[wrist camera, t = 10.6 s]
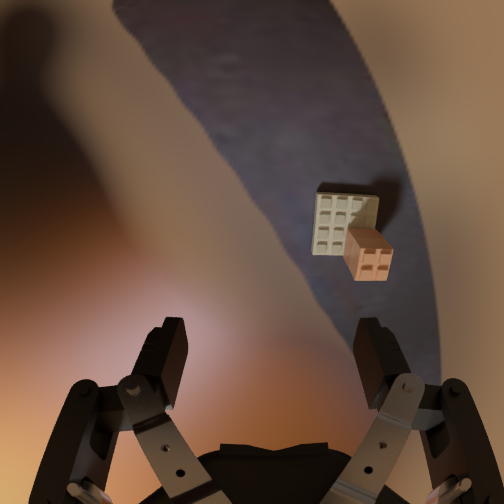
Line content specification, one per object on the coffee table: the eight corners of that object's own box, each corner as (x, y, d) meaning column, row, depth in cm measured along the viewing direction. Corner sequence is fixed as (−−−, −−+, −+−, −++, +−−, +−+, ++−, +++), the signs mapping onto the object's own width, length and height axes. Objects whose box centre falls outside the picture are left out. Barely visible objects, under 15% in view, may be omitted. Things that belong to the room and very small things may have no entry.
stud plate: (316, 191, 36) (318, 195, 35) (376, 195, 36) (380, 198, 35) (311, 250, 40) (313, 256, 38) (367, 251, 40) (371, 257, 38)
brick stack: (347, 227, 36) (362, 250, 31) (376, 229, 36) (395, 251, 31) (343, 256, 38) (356, 282, 32) (371, 257, 38) (387, 282, 32)
